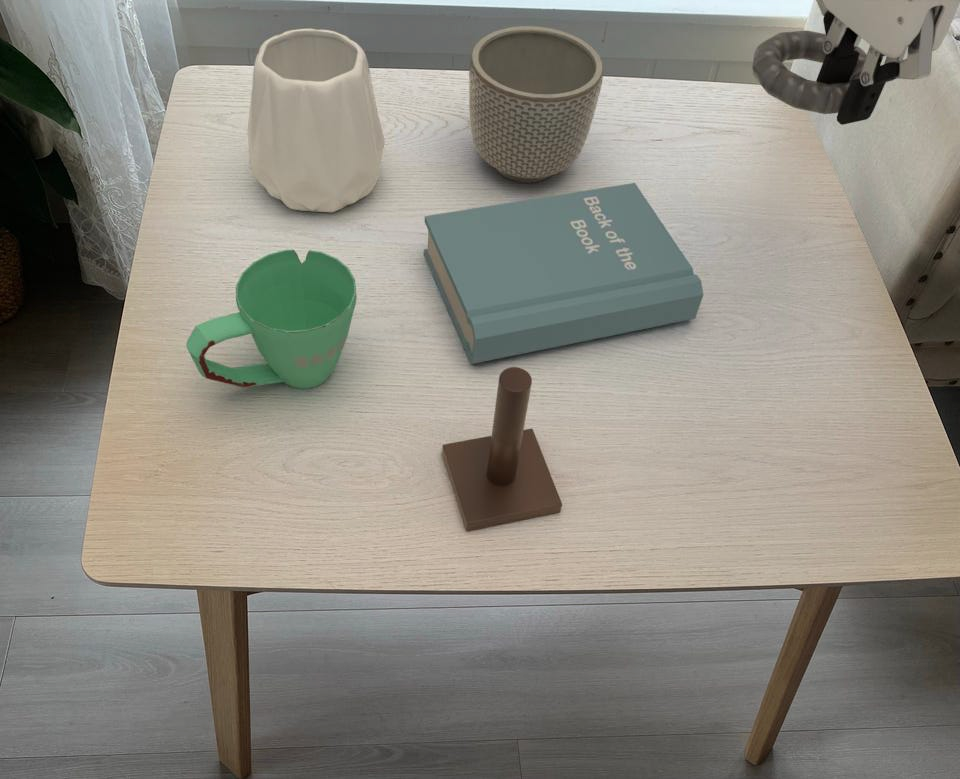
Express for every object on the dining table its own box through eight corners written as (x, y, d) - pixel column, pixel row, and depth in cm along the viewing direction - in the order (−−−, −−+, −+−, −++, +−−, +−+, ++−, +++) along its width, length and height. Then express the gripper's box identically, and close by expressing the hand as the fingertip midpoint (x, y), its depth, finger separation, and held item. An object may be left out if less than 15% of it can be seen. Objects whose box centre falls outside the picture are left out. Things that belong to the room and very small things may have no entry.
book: (625, 220, 102) (634, 182, 98) (692, 324, 93) (705, 287, 89) (423, 254, 96) (424, 216, 93) (472, 370, 87) (476, 332, 83)
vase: (378, 229, 98) (377, 101, 87) (241, 219, 98) (221, 89, 86) (390, 147, 107) (390, 22, 96) (264, 138, 107) (249, 11, 95)
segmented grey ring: (835, 46, 88) (844, 22, 86) (896, 112, 82) (907, 87, 80) (729, 55, 86) (737, 30, 84) (783, 124, 79) (793, 99, 77)
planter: (606, 189, 105) (628, 86, 95) (491, 214, 101) (502, 109, 91) (553, 119, 113) (568, 17, 103) (444, 139, 109) (449, 35, 99)
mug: (325, 314, 90) (319, 234, 82) (380, 381, 85) (379, 302, 78) (179, 376, 84) (158, 296, 76) (229, 452, 79) (211, 374, 71)
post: (531, 436, 82) (550, 331, 72) (560, 512, 78) (585, 411, 67) (441, 452, 81) (448, 347, 70) (466, 531, 76) (477, 431, 66)
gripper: (1055, -73, 64) (936, 155, 78) (899, -166, 73) (818, 52, 87) (970, -60, 61) (863, 172, 75) (820, -158, 71) (749, 65, 85)
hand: (839, 106), depth 81 cm, fingers closed on segmented grey ring, 2 cm apart
